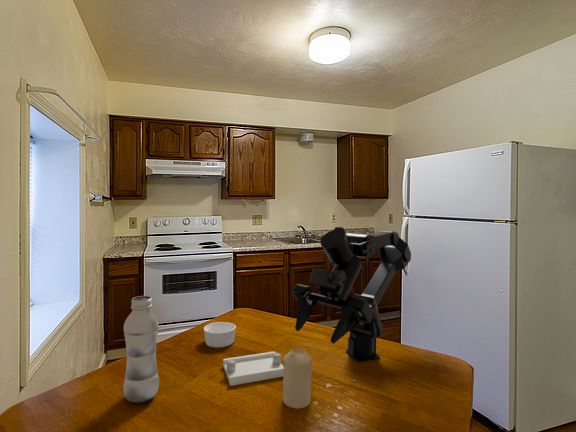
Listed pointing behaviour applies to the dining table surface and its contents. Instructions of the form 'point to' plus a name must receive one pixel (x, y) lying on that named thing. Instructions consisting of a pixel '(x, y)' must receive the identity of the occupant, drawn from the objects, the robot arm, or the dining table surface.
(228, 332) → the ramekin
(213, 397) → the dining table surface
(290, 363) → the candle
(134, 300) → the plastic bottle
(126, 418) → the dining table surface
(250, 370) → the tray
